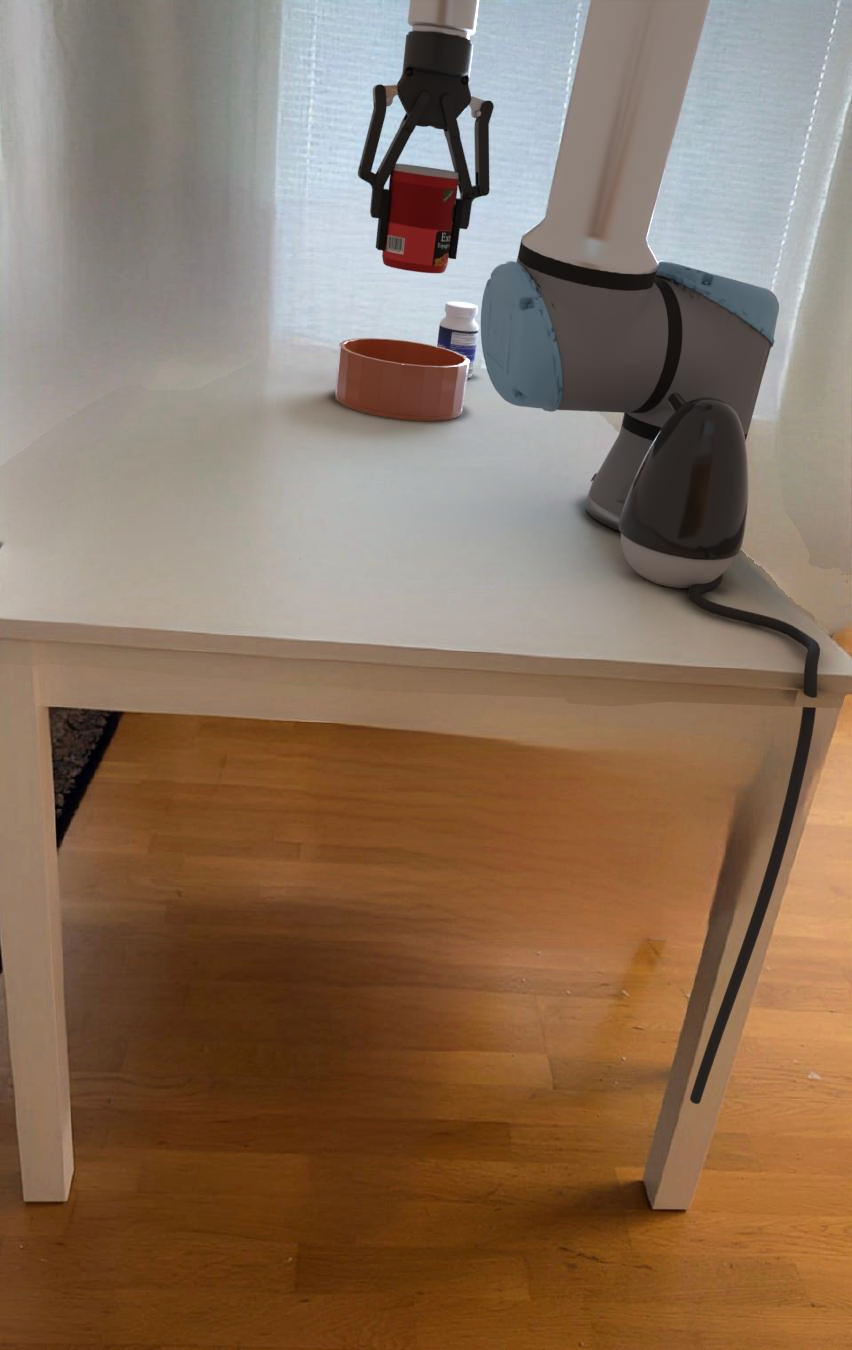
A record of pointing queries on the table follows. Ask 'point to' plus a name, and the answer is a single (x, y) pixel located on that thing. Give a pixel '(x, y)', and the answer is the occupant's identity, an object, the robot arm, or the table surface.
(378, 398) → the terracotta bowl
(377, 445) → the table surface
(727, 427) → the dark two-tone rounded device
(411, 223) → the canned food
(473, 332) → the pill bottle
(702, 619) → the table surface
